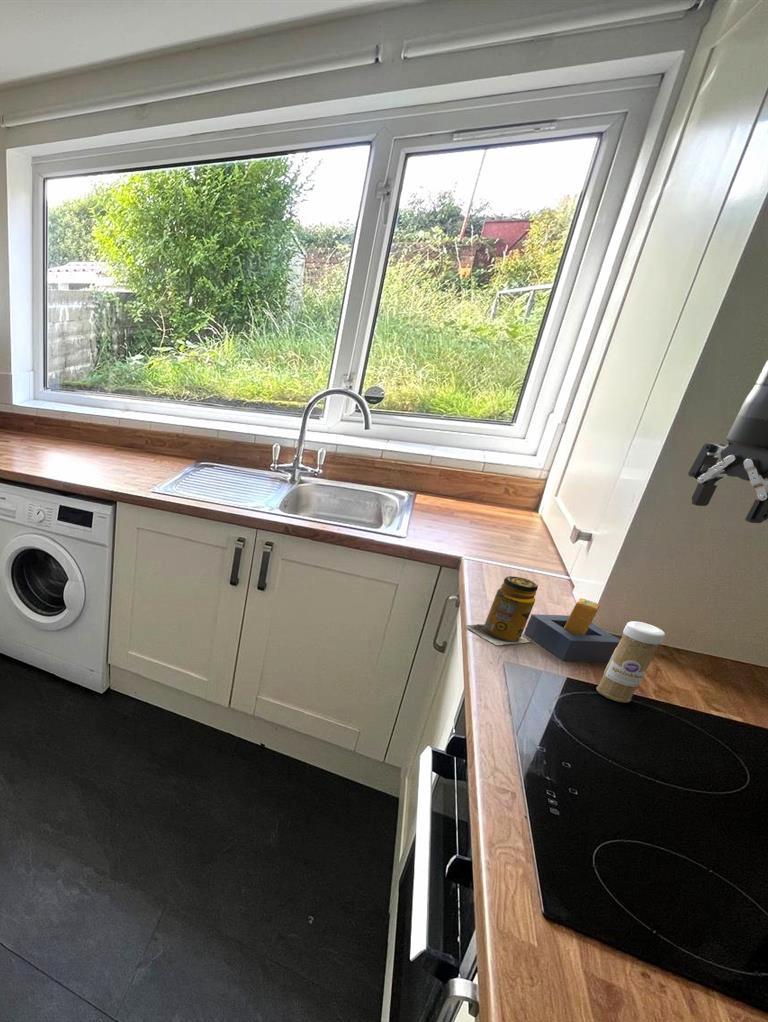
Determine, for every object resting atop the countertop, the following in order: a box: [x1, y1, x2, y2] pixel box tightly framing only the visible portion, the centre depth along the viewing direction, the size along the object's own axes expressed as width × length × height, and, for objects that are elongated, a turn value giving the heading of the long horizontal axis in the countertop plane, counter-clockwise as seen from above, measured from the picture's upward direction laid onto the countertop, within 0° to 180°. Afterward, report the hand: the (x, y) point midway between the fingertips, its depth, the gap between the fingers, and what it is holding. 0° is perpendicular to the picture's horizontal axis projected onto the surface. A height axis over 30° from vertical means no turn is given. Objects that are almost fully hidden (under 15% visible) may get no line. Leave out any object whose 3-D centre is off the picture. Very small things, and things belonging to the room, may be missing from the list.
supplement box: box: [564, 597, 601, 635], centre depth 111 cm, size 3×3×10 cm
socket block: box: [523, 613, 621, 664], centre depth 112 cm, size 10×10×4 cm
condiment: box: [464, 575, 539, 646], centre depth 115 cm, size 7×8×12 cm
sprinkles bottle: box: [596, 620, 666, 704], centre depth 96 cm, size 5×5×13 cm
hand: (724, 513), depth 97 cm, fingers open, 8 cm apart
